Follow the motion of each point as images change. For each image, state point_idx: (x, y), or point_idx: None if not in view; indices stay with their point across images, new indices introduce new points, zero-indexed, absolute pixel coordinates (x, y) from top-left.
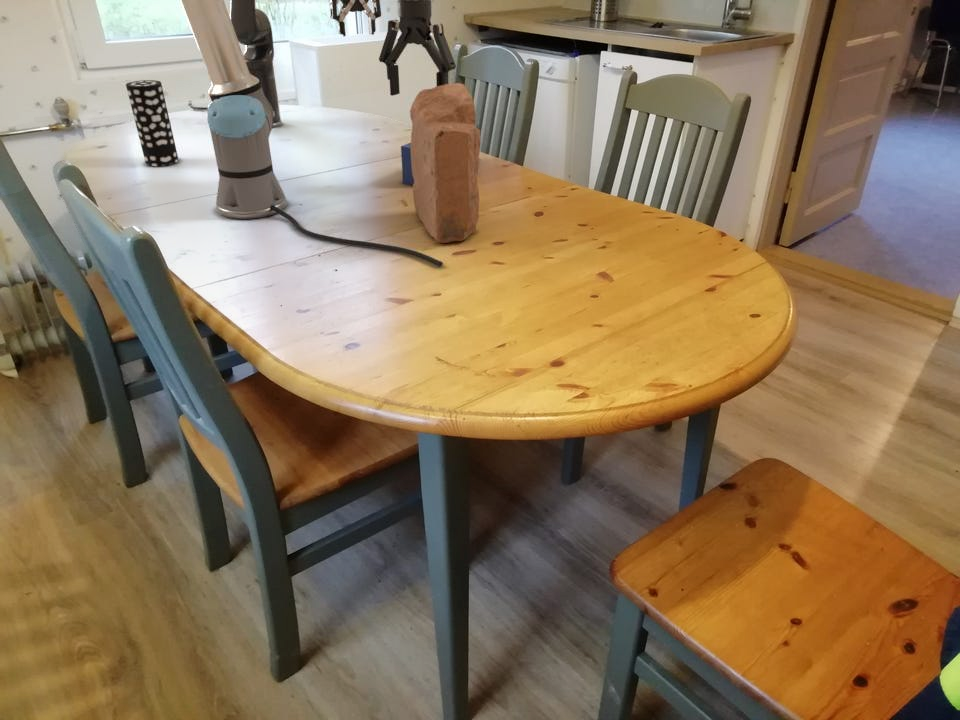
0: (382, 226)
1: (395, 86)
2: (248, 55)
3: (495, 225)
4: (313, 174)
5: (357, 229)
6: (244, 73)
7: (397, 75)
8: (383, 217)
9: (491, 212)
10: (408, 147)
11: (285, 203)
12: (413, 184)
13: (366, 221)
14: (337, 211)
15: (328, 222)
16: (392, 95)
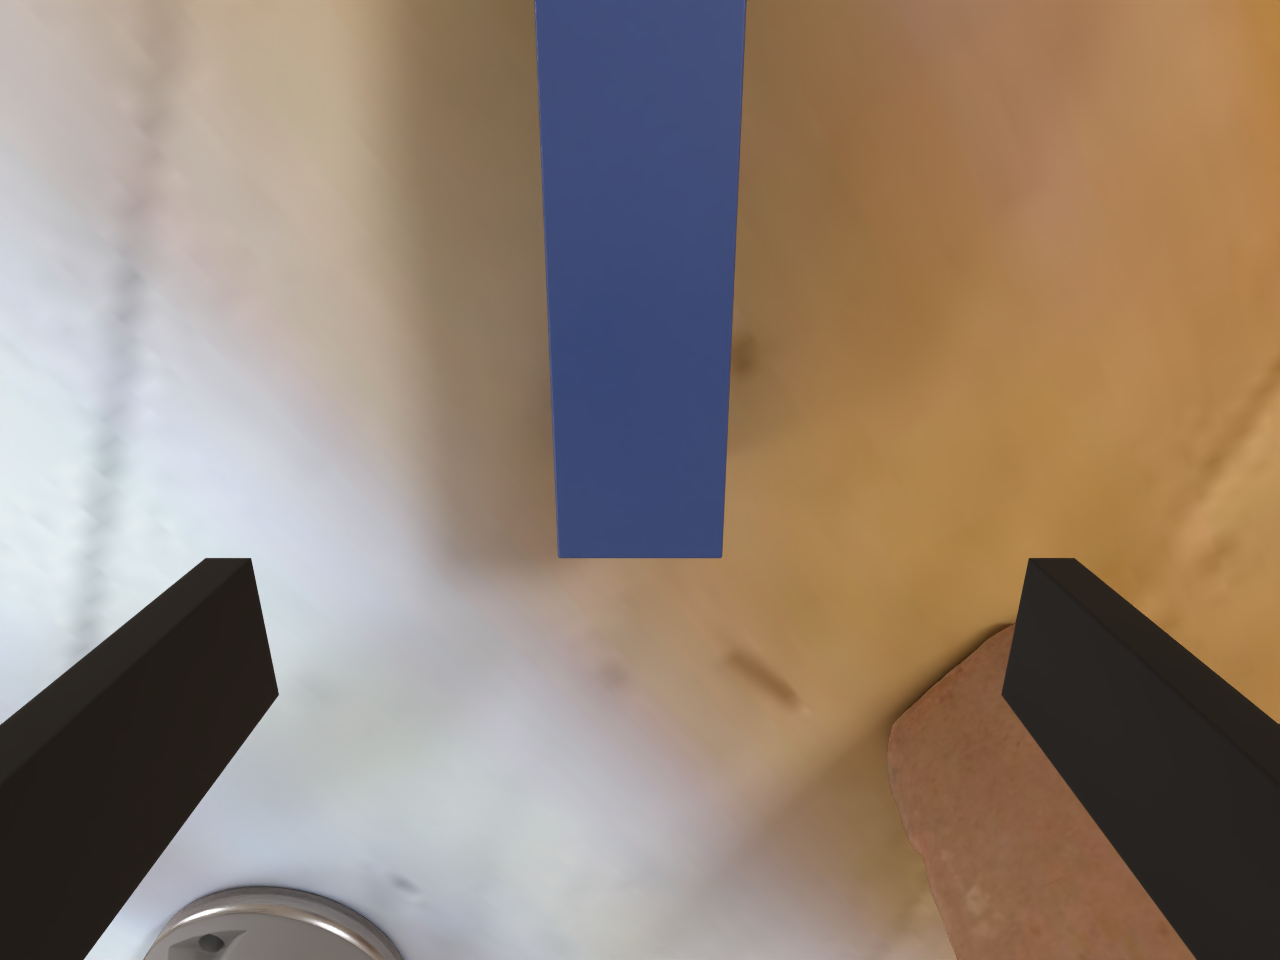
0: (828, 889)
1: (206, 706)
2: None
3: (1258, 685)
4: (87, 597)
5: (763, 943)
6: None
7: (71, 761)
8: (779, 830)
9: (1198, 572)
10: (625, 555)
11: (375, 940)
12: (916, 849)
13: (745, 883)
14: (578, 867)
15: (628, 946)
16: (271, 695)
